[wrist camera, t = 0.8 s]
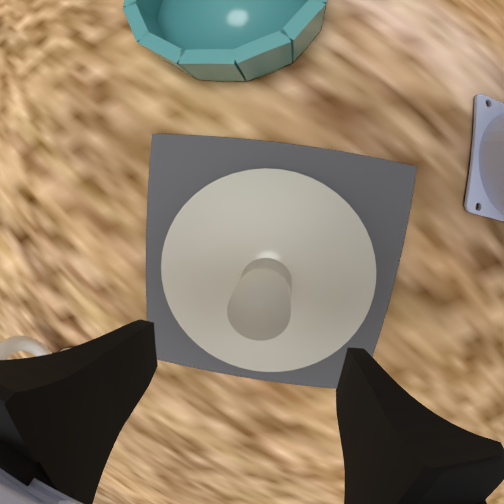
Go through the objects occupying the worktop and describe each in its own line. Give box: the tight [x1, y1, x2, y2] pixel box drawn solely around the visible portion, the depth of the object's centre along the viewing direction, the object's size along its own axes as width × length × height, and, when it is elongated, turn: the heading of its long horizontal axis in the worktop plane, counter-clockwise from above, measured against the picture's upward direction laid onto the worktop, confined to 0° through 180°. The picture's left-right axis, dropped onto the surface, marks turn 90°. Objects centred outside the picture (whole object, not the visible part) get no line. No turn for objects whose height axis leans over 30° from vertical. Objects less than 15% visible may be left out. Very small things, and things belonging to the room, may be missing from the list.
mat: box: [146, 134, 417, 389], centre depth 20 cm, size 16×16×1 cm
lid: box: [161, 168, 376, 372], centre depth 17 cm, size 13×13×5 cm
